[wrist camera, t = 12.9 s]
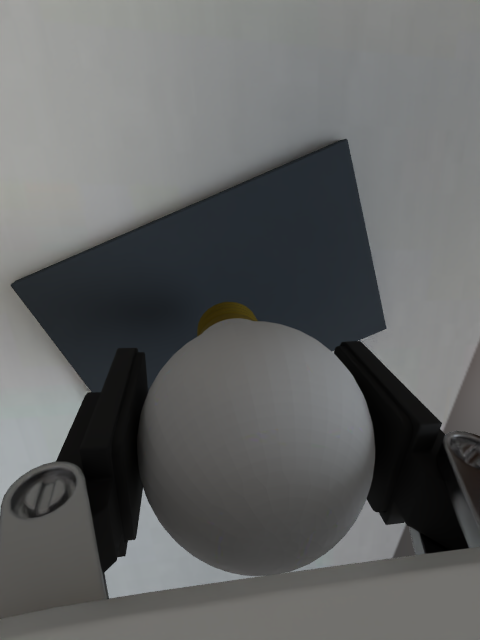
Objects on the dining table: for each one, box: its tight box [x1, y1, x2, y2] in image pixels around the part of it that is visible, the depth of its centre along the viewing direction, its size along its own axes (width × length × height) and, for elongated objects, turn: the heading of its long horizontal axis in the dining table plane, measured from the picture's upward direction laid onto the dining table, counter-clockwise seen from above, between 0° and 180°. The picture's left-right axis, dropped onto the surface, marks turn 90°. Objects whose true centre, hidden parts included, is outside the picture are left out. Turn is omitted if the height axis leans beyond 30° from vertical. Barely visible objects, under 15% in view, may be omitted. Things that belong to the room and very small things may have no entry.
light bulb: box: [137, 302, 375, 576], centre depth 11 cm, size 6×6×10 cm
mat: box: [11, 139, 386, 392], centre depth 17 cm, size 16×10×1 cm, turn 111°
